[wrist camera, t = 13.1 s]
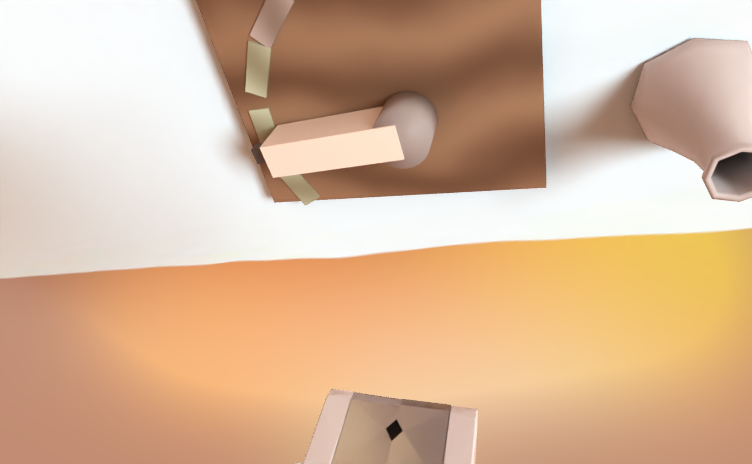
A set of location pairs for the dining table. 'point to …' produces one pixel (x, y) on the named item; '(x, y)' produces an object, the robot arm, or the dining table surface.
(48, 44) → the dining table surface
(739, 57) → the flask
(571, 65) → the dining table surface
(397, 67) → the board
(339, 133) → the peg lever
